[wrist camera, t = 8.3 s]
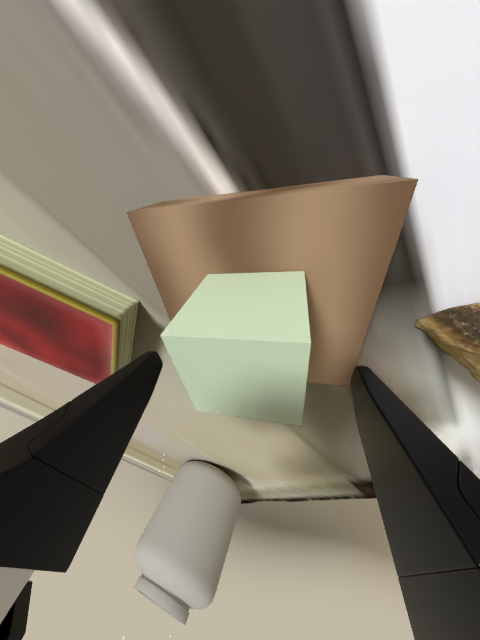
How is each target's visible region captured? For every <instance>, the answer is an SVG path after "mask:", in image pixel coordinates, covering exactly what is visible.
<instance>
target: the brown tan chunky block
mask: <svg viewBox="0 0 480 640" xmlns="http://www.w3.org/2000/svg"><path fill="white" fill-rule="evenodd" d="M415 325H416V326H417V327H418V328H420V329H422V330H424V331H426V332H427V334H428V335H429V336H430V337H431V338H432V339H433V340H434V341H435V342H436V344H437V345H438V346H439V347H440V348H441V349H443V351H442V352H444V353H446V354H448V355H450V356H452V357H453V358H454V359H455V360H457V361H458V362H459V363H460V364H461V365H462V366H464V367H465V368H467V369H468V370H469V371H470V373H471V374H472V376H473V377H474V378H476V379H477V380H478V381H479V382H480V303H475V304H470V305H464V306H458V307H453V308H449V309H446V310H443V311H440V312H437V313H435V314H432V315H430V316H429V317H425V318H421V319H418V320H417V321H416V323H415Z"/></svg>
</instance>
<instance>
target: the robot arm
mask: <svg viewBox="0 0 480 640" xmlns="http://www.w3.org/2000/svg"><path fill="white" fill-rule="evenodd" d="M162 365H163V363H162V360H161V358H160V357H159V355H158V353H157V352H156V351H147V352H146V353H144V354H143V355H141V356H139V357H138V358H136V359H135V360H133V361H132V362H130V363H129V364H127V365H126V366H124V367H122V368H121V369H119V370H118V371H116V372H115V373H113V374H112V375H110V376H108V377H107V378H105V379H104V380H102V381H101V382H99V383H98V384H96V385H95V386H93V387H91V388H90V389H88V390H87V391H85V392H84V393H82V394H81V395H79V396H77V397H76V398H74V399H73V400H72V401H70V402H68V403H67V404H65V405H63V406H62V407H60V408H59V409H57V410H56V411H54V412H52V413H51V414H49V415H48V416H46V417H44V418H43V419H41V420H39V421H38V422H36V423H34V424H32V425H31V426H29V427H27V428H26V429H24V430H22V431H21V432H19V433H17V434H15V435H14V436H12V437H10V438H8V439H7V440H5V441H3V442H1V443H0V640H22V638H23V636H24V634H25V631H26V624H27V616H28V610H29V603H30V595H31V588H32V581H30V580H29V578H30V577H31V575H32V573H33V572H34V570H41V571H53V572H64V573H65V572H66V571H67V569H68V568H69V566H70V564H71V562H72V560H73V558H74V556H75V554H76V552H77V550H78V548H79V545H80V543H81V541H82V539H83V537H84V535H85V533H86V531H87V529H88V527H89V525H90V523H91V521H92V518H93V516H94V514H95V512H96V510H97V508H98V506H99V504H100V502H101V500H102V498H103V494H104V493H105V491H106V489H107V487H108V485H109V483H110V481H111V479H112V477H113V475H114V473H115V470H116V468H117V466H118V464H119V462H120V460H121V458H122V456H123V454H124V452H125V450H126V448H127V446H128V444H129V441H130V439H131V437H132V435H133V433H134V431H135V429H136V427H137V425H138V423H139V421H140V419H141V417H142V414H143V412H144V410H145V408H146V406H147V404H148V402H149V400H150V398H151V396H152V393H153V391H154V388H155V385H156V383H157V380H158V377H159V374H160V372H161V369H162ZM351 388H352V395H353V402H354V409H355V416H356V422H357V426H358V430H359V433H360V437H361V441H362V445H363V448H364V452H365V456H366V459H367V463H368V467H369V471H370V474H371V478H372V482H373V486H374V489H375V493H376V497H377V500H378V504H379V508H380V511H381V515H382V519H383V523H384V526H385V530H386V534H387V538H388V541H389V545H390V549H391V553H392V556H393V559H394V563H395V567H396V571H397V575H398V577H399V578H398V579H399V583H400V586H401V590H402V594H403V598H404V602H405V605H406V609H407V612H408V616H409V620H410V624H411V628H412V631H413V635H414V639H415V640H480V479H479V478H478V477H477V476H476V475H475V474H474V473H473V472H472V471H471V470H470V469H469V468H468V467H467V466H466V465H465V464H464V463H463V462H462V461H459V459H458V457H457V456H456V455H455V454H454V453H453V452H452V451H451V450H450V449H449V448H448V447H447V446H446V445H445V444H444V443H443V442H442V441H441V440H440V439H439V438H438V437H437V436H436V435H435V434H434V433H433V432H432V431H431V430H430V429H429V428H428V427H427V426H426V425H425V424H424V423H423V422H422V421H421V420H420V419H419V418H418V417H417V416H416V415H415V414H414V413H413V412H412V411H411V410H410V409H409V408H408V407H407V406H406V405H405V404H404V403H403V402H402V401H401V400H400V399H399V398H398V397H397V396H396V395H395V394H394V393H393V392H392V391H391V390H390V389H389V388H388V387H387V386H386V385H385V384H384V383H383V382H382V381H381V380H380V379H379V378H378V377H377V376H376V375H375V374H374V372H373V371H372V370H371V369H370V368H368V367H366V366H356V367H355V368H354V371H353V374H352V377H351Z"/></svg>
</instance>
